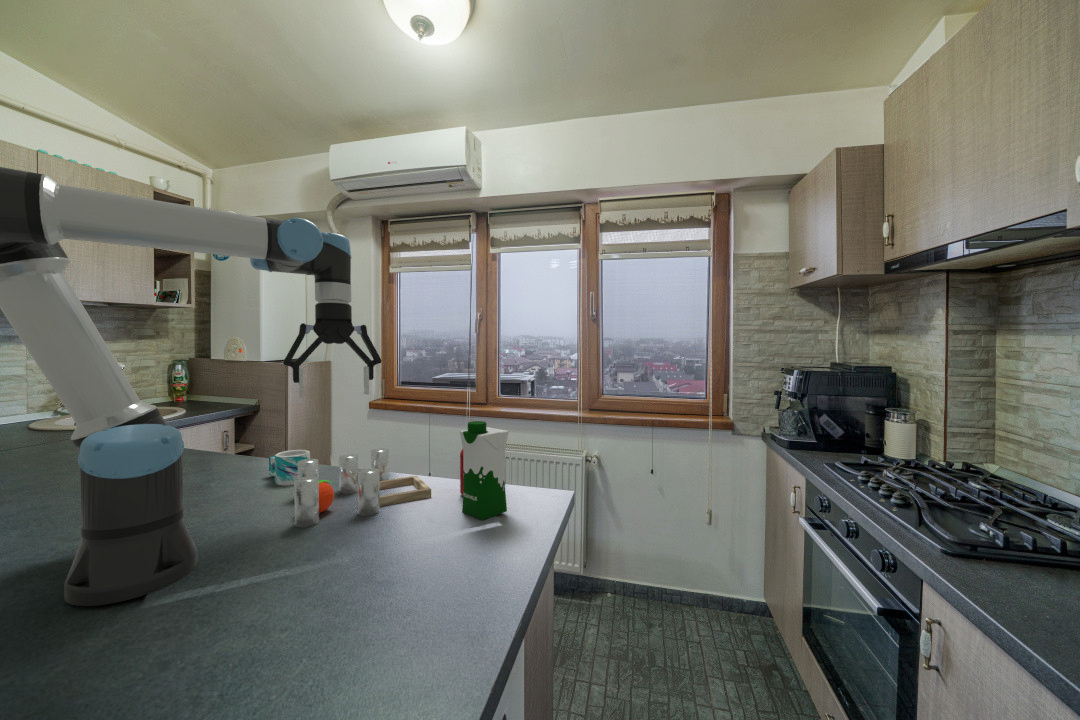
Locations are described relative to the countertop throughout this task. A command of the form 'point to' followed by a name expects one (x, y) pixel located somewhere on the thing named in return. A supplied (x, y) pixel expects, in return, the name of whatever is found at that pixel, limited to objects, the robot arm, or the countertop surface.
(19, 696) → the countertop surface
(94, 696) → the countertop surface
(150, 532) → the robot arm
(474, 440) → the milk carton
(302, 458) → the mug
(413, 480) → the beech corral
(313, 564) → the countertop surface
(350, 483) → the spacer field
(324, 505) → the clementine
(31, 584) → the countertop surface
